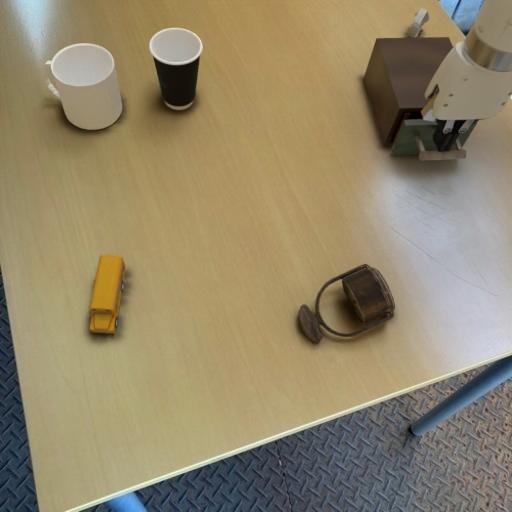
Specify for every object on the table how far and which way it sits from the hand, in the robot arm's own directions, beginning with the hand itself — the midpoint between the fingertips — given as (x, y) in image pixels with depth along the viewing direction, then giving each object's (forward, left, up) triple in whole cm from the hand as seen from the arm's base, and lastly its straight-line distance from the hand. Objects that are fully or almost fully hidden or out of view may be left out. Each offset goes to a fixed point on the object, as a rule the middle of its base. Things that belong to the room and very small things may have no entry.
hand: (440, 144), depth 83 cm
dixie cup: (+39, -17, -6) cm, 43 cm away
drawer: (0, -7, -5) cm, 9 cm away
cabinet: (0, -13, -6) cm, 14 cm away
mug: (+54, -16, -6) cm, 56 cm away
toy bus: (+50, +19, -6) cm, 54 cm away
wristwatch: (-6, -32, -6) cm, 33 cm away
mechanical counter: (+19, +23, -6) cm, 31 cm away
